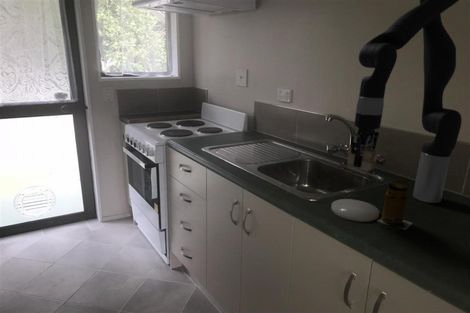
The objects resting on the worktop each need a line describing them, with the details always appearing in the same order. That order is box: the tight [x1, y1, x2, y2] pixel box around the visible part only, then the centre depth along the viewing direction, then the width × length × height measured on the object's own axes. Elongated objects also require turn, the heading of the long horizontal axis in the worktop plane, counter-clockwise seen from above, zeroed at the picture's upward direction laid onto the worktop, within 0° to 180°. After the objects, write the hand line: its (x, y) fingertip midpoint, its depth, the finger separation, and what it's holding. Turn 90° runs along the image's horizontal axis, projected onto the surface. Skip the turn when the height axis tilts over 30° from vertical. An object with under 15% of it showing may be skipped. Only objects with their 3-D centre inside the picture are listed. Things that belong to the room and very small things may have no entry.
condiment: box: [376, 182, 413, 231], centre depth 105 cm, size 7×8×12 cm
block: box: [346, 147, 379, 172], centre depth 109 cm, size 5×7×6 cm
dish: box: [330, 198, 380, 223], centre depth 114 cm, size 15×15×1 cm
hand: (361, 165), depth 109 cm, fingers closed on block, 5 cm apart
